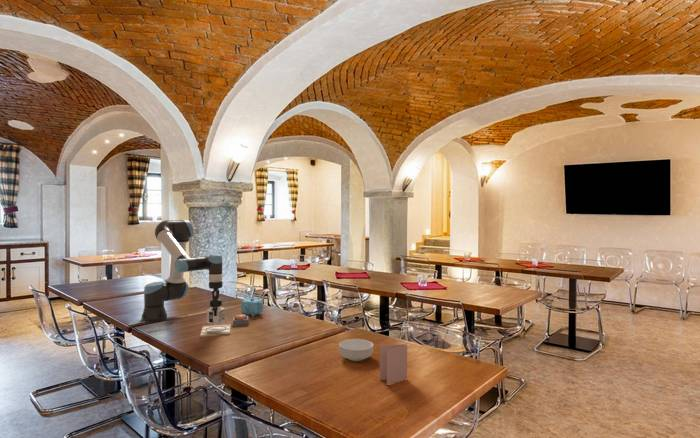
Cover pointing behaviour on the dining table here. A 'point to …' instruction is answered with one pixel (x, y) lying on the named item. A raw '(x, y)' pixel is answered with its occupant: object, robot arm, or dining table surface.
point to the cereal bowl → (356, 349)
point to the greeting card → (393, 363)
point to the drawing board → (215, 330)
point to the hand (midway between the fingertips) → (216, 319)
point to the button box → (240, 322)
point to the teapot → (252, 306)
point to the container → (220, 313)
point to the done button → (240, 317)
